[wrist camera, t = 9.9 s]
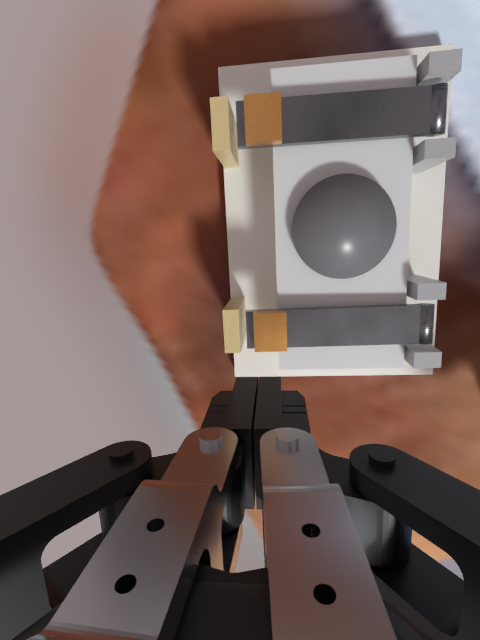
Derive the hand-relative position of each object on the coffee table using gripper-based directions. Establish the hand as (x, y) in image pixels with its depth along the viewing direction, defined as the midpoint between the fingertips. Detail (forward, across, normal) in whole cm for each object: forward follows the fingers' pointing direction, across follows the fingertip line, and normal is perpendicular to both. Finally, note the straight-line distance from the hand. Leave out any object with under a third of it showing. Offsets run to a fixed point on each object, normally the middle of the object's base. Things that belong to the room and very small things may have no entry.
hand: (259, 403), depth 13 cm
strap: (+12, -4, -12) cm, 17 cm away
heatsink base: (+17, -5, -6) cm, 19 cm away
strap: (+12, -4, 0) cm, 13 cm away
